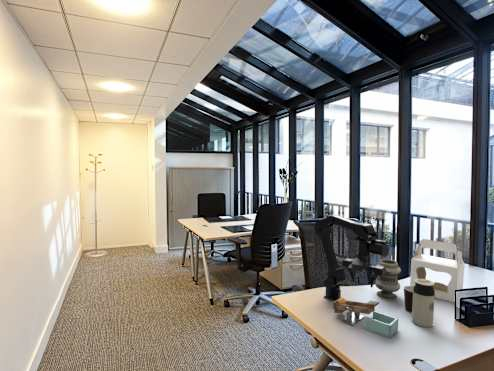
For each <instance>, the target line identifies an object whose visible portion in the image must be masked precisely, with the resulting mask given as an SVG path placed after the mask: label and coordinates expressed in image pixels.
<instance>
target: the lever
mask: <svg viewBox="0 0 494 371" xmlns="http://www.w3.org/2000/svg"><path fill="white" fill-rule="evenodd" d="M345 300H346V299H345ZM378 305H380V302H379V301H374V300H369V301H368V302H362V301H361V302H360V301H353V300H346V305H345V304H339V303H338V300H336V301H332V308H333V310H334V311H333V312H334V313H333V314H339V315H342V314H343V313H344V312H346V311H347V307H350V308H352V313H355V312H357V313H360V314H364V315H370V314H372V313H373V311H375V310H376V309H375V307H377V306H378Z"/></svg>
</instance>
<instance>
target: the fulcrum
mask: <svg viewBox="0 0 494 371" xmlns="http://www.w3.org/2000/svg"><path fill="white" fill-rule="evenodd" d="M345 312H346V313H345V314H346V316H345V318H343V319H342V320H341V323H343V324H346V325H348V326H352V327H354V326H355V325H356V324H358V323H359V322H360V321H362V320H364V319H365V316H364V315H361V313H357V312H352V308H350V307H347V311H345Z"/></svg>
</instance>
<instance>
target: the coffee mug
mask: <svg viewBox="0 0 494 371" xmlns="http://www.w3.org/2000/svg"><path fill="white" fill-rule="evenodd" d="M413 287H414V286H410V285H406V286H403V294H404V295H403V297H404V308H405V311H406V312H408V313H411V314H412V304H413Z"/></svg>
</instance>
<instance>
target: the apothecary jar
mask: <svg viewBox="0 0 494 371" xmlns="http://www.w3.org/2000/svg"><path fill="white" fill-rule="evenodd" d="M377 265H379V266H383V267H385V268H386V273H385V274H384V275H382V276H378V277H377V279H376V281H375V283H374V285H375V287H376V288H377V289H378V290H379V291H377V292H376V295H377V296H378V297H379V298H383V299H388V300H396V299H398V296H397V294H396V293H395V292H398V291H399V290H401V284H400V282H399V274H400V273H401V272H402V270H401V267H400V266H399V264H398V262H397V261H396V260H395V259H393V260H392V259H388V258H387V259H386V258H385V259H380V260H379V263H378V264H377Z"/></svg>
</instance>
